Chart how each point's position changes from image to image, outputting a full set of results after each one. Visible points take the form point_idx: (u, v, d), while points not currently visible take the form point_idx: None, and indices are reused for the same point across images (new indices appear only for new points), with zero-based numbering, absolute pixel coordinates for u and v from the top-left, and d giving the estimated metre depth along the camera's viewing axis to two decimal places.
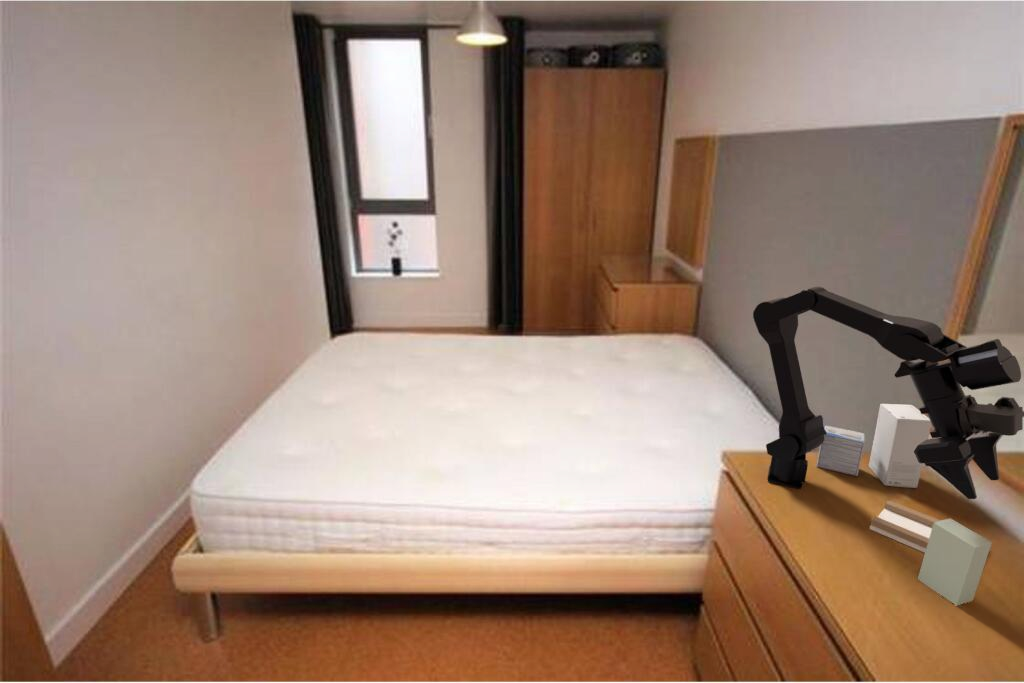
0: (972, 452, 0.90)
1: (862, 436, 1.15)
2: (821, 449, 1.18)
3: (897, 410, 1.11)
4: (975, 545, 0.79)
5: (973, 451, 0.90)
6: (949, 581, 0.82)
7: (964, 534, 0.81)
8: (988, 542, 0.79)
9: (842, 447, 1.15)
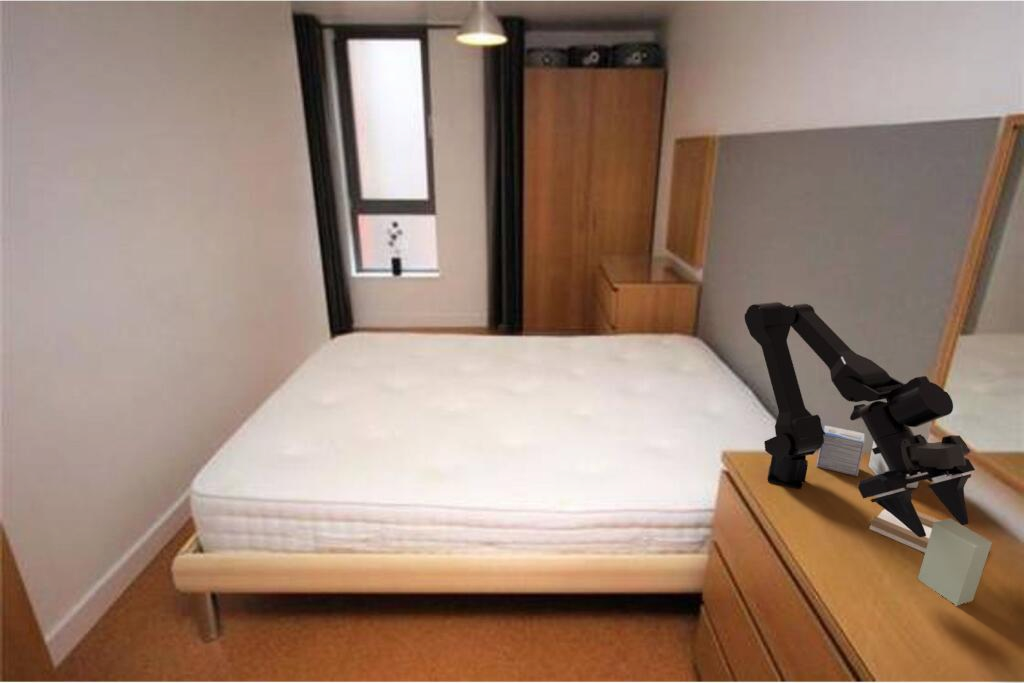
0: (942, 496, 0.89)
1: (862, 436, 1.15)
2: (821, 449, 1.18)
3: None
4: (975, 545, 0.79)
5: (942, 495, 0.89)
6: (949, 581, 0.82)
7: (964, 534, 0.81)
8: (988, 542, 0.79)
9: (842, 447, 1.15)
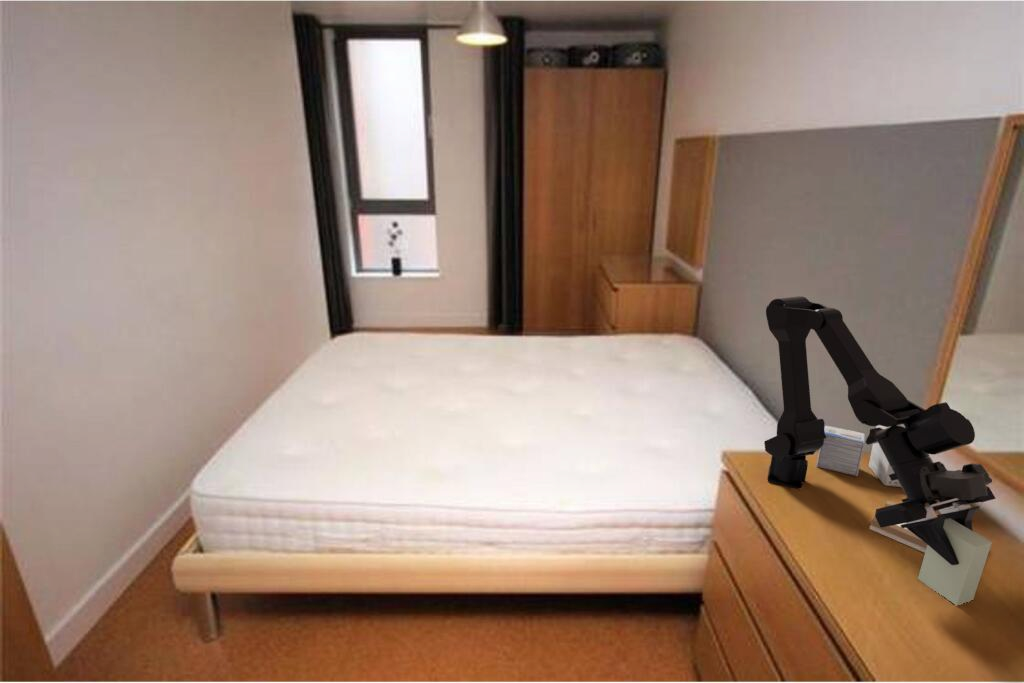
0: None
1: (862, 436, 1.15)
2: (821, 449, 1.18)
3: None
4: (975, 545, 0.79)
5: None
6: (949, 581, 0.82)
7: (964, 534, 0.81)
8: (988, 542, 0.79)
9: (842, 447, 1.15)
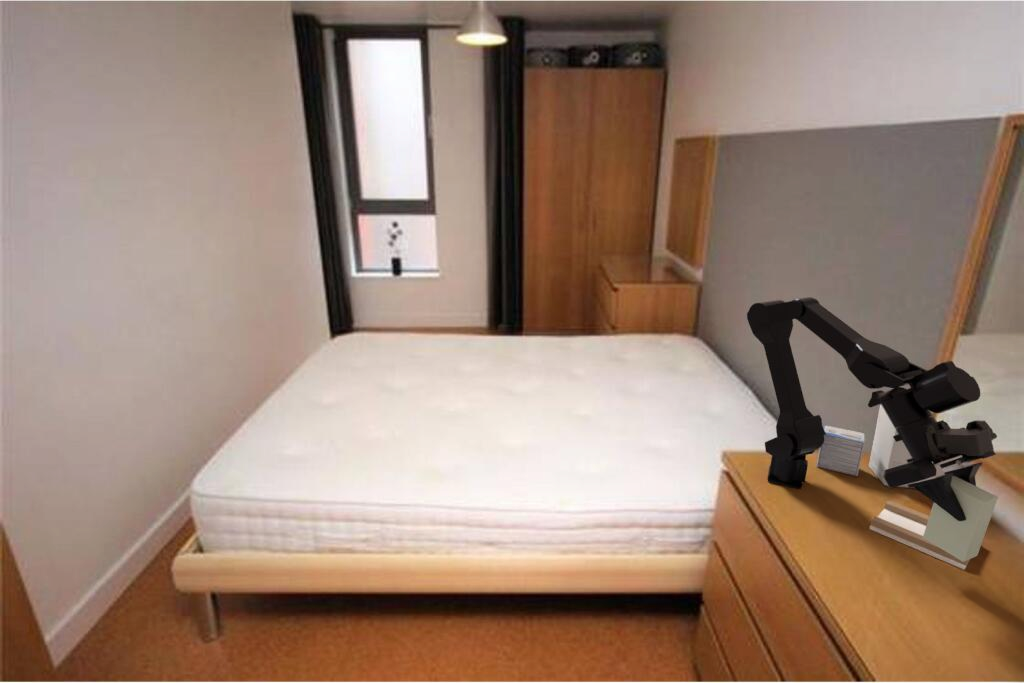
0: None
1: (862, 436, 1.15)
2: (821, 449, 1.18)
3: None
4: (983, 500, 0.80)
5: None
6: (956, 537, 0.83)
7: (971, 490, 0.82)
8: (994, 496, 0.80)
9: (842, 447, 1.15)
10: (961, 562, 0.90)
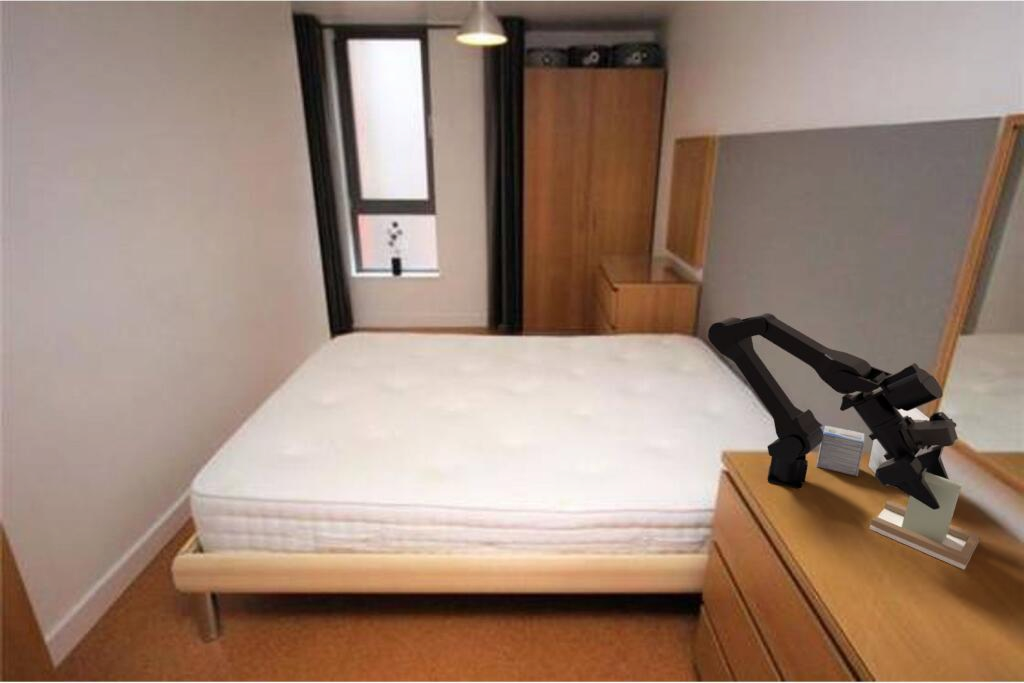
0: (923, 467, 0.99)
1: (862, 436, 1.15)
2: (821, 449, 1.18)
3: None
4: (955, 490, 0.91)
5: (923, 467, 0.98)
6: (933, 525, 0.94)
7: (941, 482, 0.93)
8: (960, 484, 0.92)
9: (842, 447, 1.15)
10: (961, 562, 0.90)
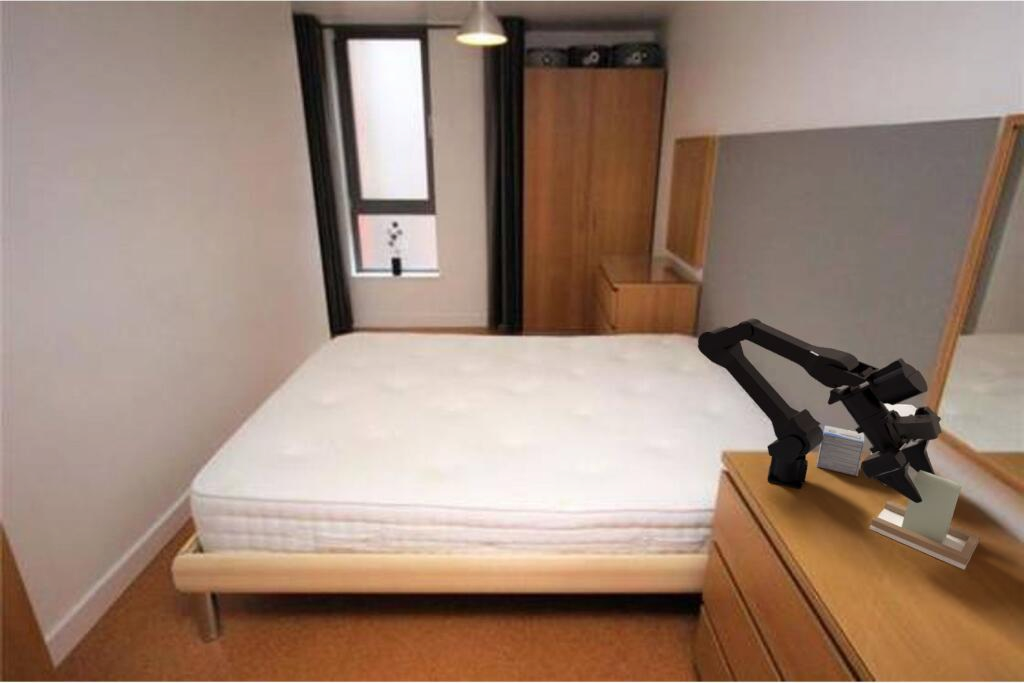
0: (909, 460, 1.01)
1: (862, 436, 1.15)
2: (821, 449, 1.18)
3: (897, 410, 1.11)
4: (955, 490, 0.91)
5: (909, 459, 1.00)
6: (933, 525, 0.94)
7: (941, 482, 0.93)
8: (960, 484, 0.92)
9: (842, 447, 1.15)
10: (961, 562, 0.90)
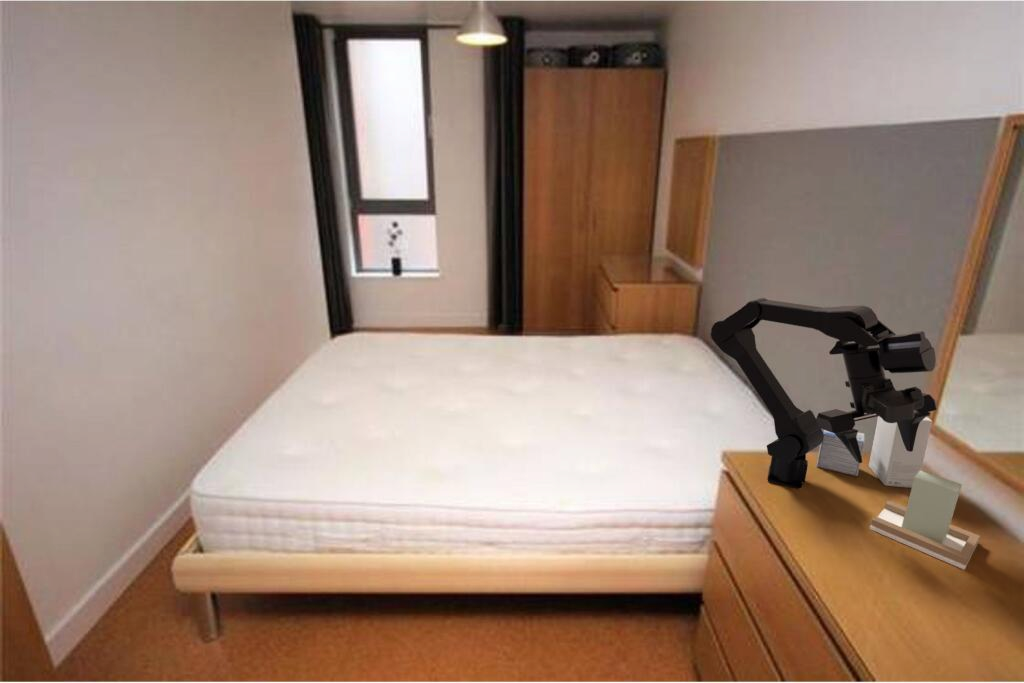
0: (900, 424, 1.00)
1: (862, 436, 1.15)
2: (821, 449, 1.18)
3: None
4: (955, 490, 0.91)
5: (900, 423, 0.99)
6: (933, 525, 0.94)
7: (941, 482, 0.93)
8: (960, 484, 0.92)
9: (842, 447, 1.15)
10: (961, 562, 0.90)
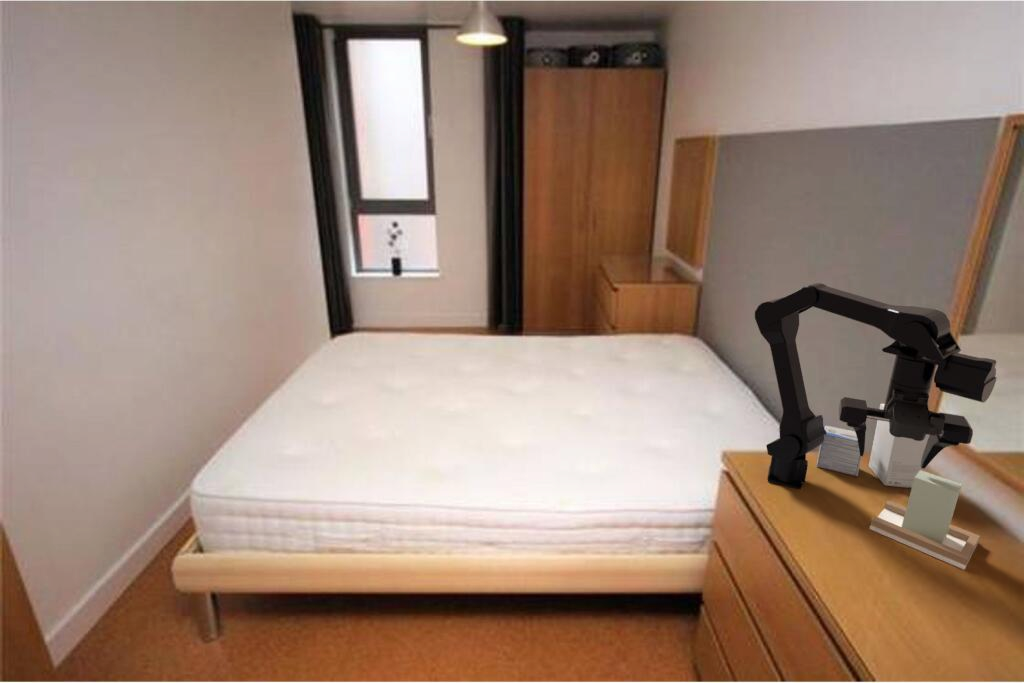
0: (929, 440, 0.94)
1: None
2: (821, 449, 1.18)
3: None
4: (955, 490, 0.91)
5: (929, 440, 0.94)
6: (933, 525, 0.94)
7: (941, 482, 0.93)
8: (960, 484, 0.92)
9: (842, 447, 1.15)
10: (961, 562, 0.90)
